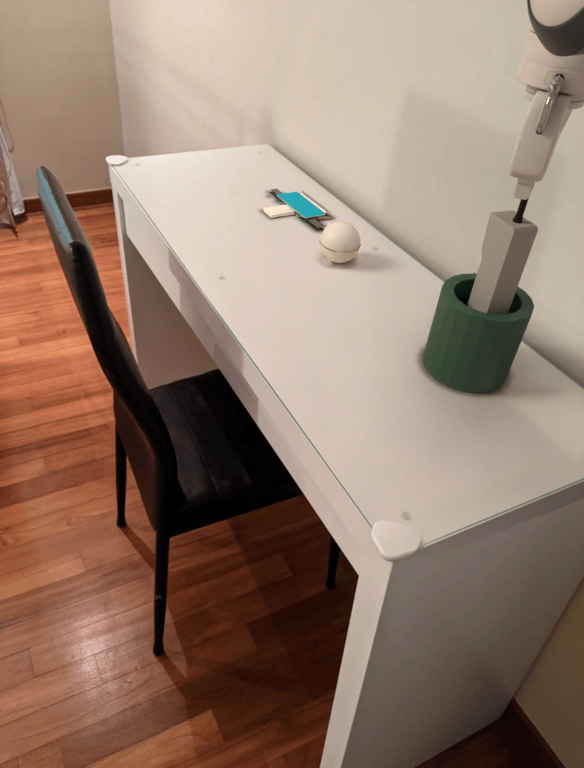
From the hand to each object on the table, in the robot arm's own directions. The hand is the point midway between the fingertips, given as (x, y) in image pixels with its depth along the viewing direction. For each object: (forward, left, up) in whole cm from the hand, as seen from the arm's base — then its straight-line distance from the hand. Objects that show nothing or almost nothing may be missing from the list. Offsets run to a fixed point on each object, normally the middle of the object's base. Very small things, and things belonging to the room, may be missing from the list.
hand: (522, 194), depth 73 cm
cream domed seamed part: (+27, -19, -26) cm, 42 cm away
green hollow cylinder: (0, 0, -26) cm, 26 cm away
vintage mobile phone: (0, 0, -20) cm, 20 cm away
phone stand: (+44, -35, -26) cm, 62 cm away
